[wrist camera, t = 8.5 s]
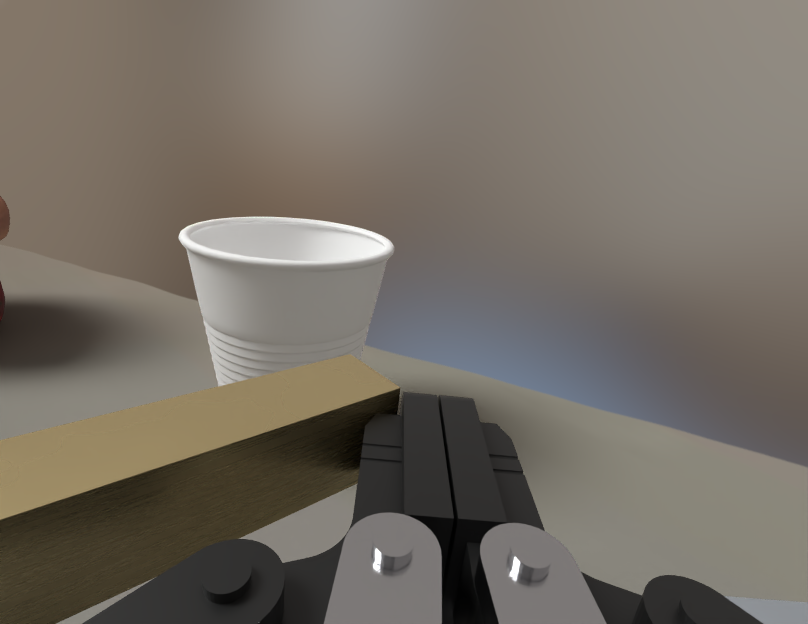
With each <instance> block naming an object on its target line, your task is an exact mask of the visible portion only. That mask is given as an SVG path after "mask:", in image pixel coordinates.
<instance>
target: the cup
mask: <svg viewBox="0 0 808 624" xmlns="http://www.w3.org/2000/svg"><path fill="white" fill-rule="evenodd" d="M179 240H180V242H181V243H182V245H183V246H184V247H185V248H186V249H187V254H188V258H189V262H190V266H191V271H192V275H193V279H194V284H195V288H196V292H197V297H198V301H199V305H200V310H201V314H202V316H203V318H204V325H205V327H206V334H207V336H208V343H209V345H210V352H211V354H212V360H213V363H214V369H215V371H216V378H217V380H218V386H222V385H226V384H230V383H234V382H239V381H243V380H247V379H251V378H255V377H259V376H263V375H267V374H271V373H275V372H279V371H283V370H287V369H291V368H295V367H299V366H303V365H307V364H311V363H315V362H320V361H324V360H328V359H332V358H336V357H340V356H344V355H348V354H351V355H353V356H354V357H356V358H357V359H359V360H360V359H361V355H362V352H363V347H364V344H365V339H366V336H367V333H368V328H369V325H370V321H371V318H372V315H373V310H374V307H375V303H376V299H377V295H378V292H379V288H380V285H381V281H382V277H383V273H384V269H385V265H386V261H387V259H388V258H389V257H391V256H392V254H393V252H394V246H393V244H392V242H391V241H389V240H388V239H387V238H385V237H383V236H381V235H379V234H377V233H374V232H371V231H368V230H365V229H361V228H357V227H353V226H348V225H344V224H338V223H332V222H326V221H318V220H310V219H298V218H284V217H236V218H223V219H215V220H208V221H203V222H199V223H195V224H193V225H190V226H187V227H186V228H185V229H183V230H182V231H181V232H180V235H179Z"/></svg>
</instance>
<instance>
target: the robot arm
mask: <svg viewBox="0 0 808 624" xmlns="http://www.w3.org/2000/svg"><path fill="white" fill-rule="evenodd" d="M83 624H763V623H762V622H760V621H759V620H757V619H756V618H755V617H753V616H752V615H750V614H749V613H747V612H746V611H744V610H743V609H742V608H740V607H739V606H737V605H736V604H734V603H733V602H731V601H730V600H729V599H727V598H726V597H724V596H723V595H721V594H720V593H718V592H716V591H715V590H713V589H712V588H710V587H708V586H706V585H704V584H702V583H699V582H697V581H695V580H692V579H689V578H685V577H681V576H675V575H664V576H659V577H656V578H654V579H652V580H651V581H650V582H649V583H648V584H647V585H646V587H645V590H644V592H643V595H642V596H641V595H639V594H636V593H633V592H630V591H627V590H624V589H622V588H619V587H616V586H613V585H610V584H607V583H605V582H602V581H599V580H597V579H594V578H592V577H590V576H588V575H586V574H584V573H582V572H581V571H580V569H579V567H578V565H577V563H576V561H575V559H574V558H573V556H572V554H571V553H570V552H569V551H568V549H567V548H566V547H565V546H564V545H563V544H562V543H561V542H560V541H559V540H557V539H556V538H555V537H553V536H552V535H550V534H549V533H547V532H545V530H544V527H543V525H542V522H541V519H540V516H539V514H538V511H537V508H536V505H535V503H534V500H533V497H532V494H531V492H530V489H529V486H528V483H527V481H526V478H525V475H523V470H522V467H521V464H520V462H519V460H518V456H517V453H516V451H515V448H514V445H513V442H512V440H511V438H510V437H509V436H508V435H507V434H506V433H505V432H504V431H503V430H502V429H501V428H500V427H499V426H498V425H497V424H493V423H482V422H480V421H479V417H478V414H477V410H476V406H475V403H474V400H473V399H472V398H464V397H453V396H442V395H439V396H438V398H437V395H430V394H420V393H409V392H403V395H402V402H401V410H400V415H393V414H382V413H376V415H375V416H374V417H373V418H372V419H371V420H370V421H369V422H368V424H367V425H366V426H365V430H364V438H363V446H362V453H361V461H360V468H359V476H358V484H357V491H356V499H355V506H354V514H353V520H352V524H351V526H350V529H349V531H348V532H347V534H346V535H345V537H344V538H343V539H342V540H341V541H340V542H339V543H338V544H336V545H335V546H334V547H332V548H331V549H329V550H327V551H325V552H323V553H321V554H319V555H316V556H313V557H309V558H305V559H300V560H296V561H291V562H286V563H282V561H281V560H280V558H279V556H278V555H277V554H276V553H275V552H274V551H273V550H272V549H271V548H269V547H268V546H266V545H264V544H262V543H260V542H257V541H253V540H247V539H232V540H225V541H221V542H217V543H214V544H212V545H209V546H207V547H205V548H203V549H201V550H199V551H197V552H196V553H194V554H193V555H191V556H189V557H188V558H186V559H185V560H183V561H181V562H180V563H178V564H177V565H175V566H173V567H172V568H170V569H169V570H167V571H165V572H164V573H162V574H161V575H159V576H157V577H156V578H154V579H153V580H151V581H150V582H148V583H146V584H145V585H143V586H142V587H140V588H138V589H137V590H135V591H134V592H132V593H130V594H129V595H127V596H126V597H124V598H122V599H121V600H119V601H118V602H116V603H115V604H113V605H111V606H110V607H108V608H107V609H105V610H103V611H102V612H100V613H99V614H97V615H95V616H94V617H92V618H91V619H89V620H87V621H86V622H84V623H83Z"/></svg>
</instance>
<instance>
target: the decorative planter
mask: <svg viewBox="0 0 808 624" xmlns="http://www.w3.org/2000/svg"><path fill="white" fill-rule="evenodd" d="M9 225H10V217H9V209H8V207H7V205H6V203H5V201H4V200H3V199H2V198H1V196H0V240H2V239H3V238H5V237H6V236H7V234H8V232H9ZM4 305H5V296H4V292H3V289H2V285H1V282H0V321H1V319H2V316H3V312H4Z"/></svg>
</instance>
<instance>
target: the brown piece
mask: <svg viewBox="0 0 808 624" xmlns="http://www.w3.org/2000/svg"><path fill="white" fill-rule="evenodd" d="M399 394H400V387H398V386H397V385H395V384H394V383H392V382H391V381H389V380H388V379H387V378H385V377H384V376H382V375H381V374H379V373H378V372H376V371H375V370H373V369H372V368H370V367H369V366H367V365H366V364H364V363H363V362H361V361H360V360H359V359H357V358H356V357H354V356H353V355H351V354H348V355H344V356H340V357H336V358H332V359H328V360H324V361H320V362H315V363H311V364H307V365H303V366H299V367H295V368H291V369H287V370H283V371H279V372H275V373H271V374H267V375H263V376H259V377H255V378H251V379H247V380H243V381H239V382H234V383H230V384H226V385H222V386H218V387H214V388H210V389H206V390H202V391H198V392H194V393H190V394H186V395H182V396H178V397H174V398H170V399H166V400H162V401H158V402H153V403H149V404H145V405H141V406H137V407H133V408H129V409H125V410H121V411H117V412H113V413H109V414H105V415H101V416H97V417H93V418H89V419H85V420H81V421H77V422H72V423H68V424H64V425H60V426H56V427H52V428H48V429H44V430H40V431H36V432H32V433H28V434H24V435H20V436H16V437H12V438H8V439H4V440H0V624H56V623H58V622H60V621H62V620H64V619H67V618H69V617H71V616H73V615H75V614H77V613H79V612H82V611H84V610H86V609H88V608H90V607H92V606H95V605H97V604H99V603H101V602H103V601H105V600H107V599H110V598H112V597H114V596H116V595H118V594H120V593H122V592H125V591H127V590H129V589H131V588H133V587H135V586H138V585H140V584H142V583H144V582H146V581H148V580H150V579H153V578H155V577H157V576H159V575H161V574H162V573H164V572H165V571H167V570H169V569H170V568H172V567H173V566H175V565H177V564H178V563H180V562H181V561H183V560H185V559H186V558H188V557H189V556H191V555H193V554H194V553H196V552H197V551H199V550H201V549H203V548H205V547H207V546H209V545H212V544H214V543H217V542H221V541H225V540H232V539H239V538H241V537H243V536H245V535H247V534H249V533H252V532H254V531H256V530H258V529H260V528H262V527H264V526H267V525H269V524H271V523H273V522H275V521H277V520H280V519H282V518H284V517H286V516H288V515H290V514H292V513H295V512H297V511H299V510H301V509H303V508H305V507H308V506H310V505H312V504H314V503H316V502H318V501H320V500H323V499H325V498H327V497H329V496H331V495H333V494H336V493H338V492H340V491H342V490H344V489H346V488H348V487H351V486H353V485H355V484H357V483H358V476H359V468H360V461H361V453H362V446H363V438H364V430H365V426H366V425H367V424H368V422H369V421H370V420H371V419H372V418H373V417H374V416H375V415H376V413H382V414H393V415H397V411H398V403H399Z"/></svg>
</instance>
